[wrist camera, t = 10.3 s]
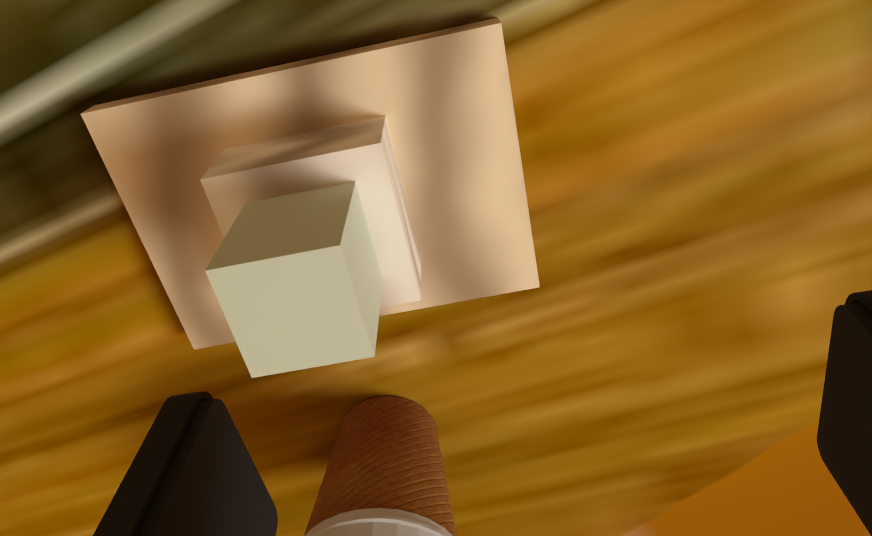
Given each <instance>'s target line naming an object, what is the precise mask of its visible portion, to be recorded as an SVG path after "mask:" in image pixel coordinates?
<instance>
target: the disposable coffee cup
mask: <svg viewBox="0 0 872 536" xmlns="http://www.w3.org/2000/svg"><path fill="white" fill-rule="evenodd" d="M436 435H437V431H436V425H435V423H434V420H433V418H432V417H431V415H430V414H429V413H428V412H427V411H426V410H425V409H424V408H423V407H422V406H420V405H419V404H417V403H415V402H413V401H410V400H408V399H405V398H400V397H395V396H382V397H375V398H370V399H368V400H365V401H363V402H361V403H359V404H357V405H356V406H354V407H353V408H352V409H351V410H350V411H349V412H348V413H347V414H346V416H345V418H344V419H343V422H342V425H341V428H340V431H339V434H338V437H337V440H336V443H335V446H334V449H333V452H332V455H331V458H330V461H329V464H328V467H327V470H326V473H325V476H324V479H323V482H322V485H321V487H320V490H319V493H318V496H317V499H316V502H315V505H314V508H313V511H312V514H311V517H310V520H309V523H308V525H307V528H306V531H305V535H304V536H457V533H456V528H455V524H454V523H453V522H454V518H453V514H451V513H452V508H451V505H450V504H451V503H450V498H449V496H448V495H449V492H448V488H447V482H446V480H445V479H446V477H445V472H444V467H443V464H442V463H443V462H442V457H441V452H440V450H439V449H440V446H439V443H438V442H439V441H438V436H436Z"/></svg>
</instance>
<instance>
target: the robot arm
mask: <svg viewBox="0 0 872 536" xmlns="http://www.w3.org/2000/svg"><path fill="white" fill-rule="evenodd" d="M817 443H818V449H819V452H820V455H821V457H822V460H823V461H824V463H825V465H826V466H827V468H828V470H829V471H830V473H831V474H832V476H833V477H834V479H835V480H836V482H837V483H838V485H839V487H840V488H841V490H842V491H843V493H844V494H845V496H846V497H847V499H848V501H849V502H850V504H851V505H852V507H853V508H854V510H855V511H856V513H857V515H858V516H859V518H860V519H861V521H862V522H863V524H864V525H865V527H866V528H867V530H868V531H869V533H870V535H871V536H872V290H870V291H863V292H857V293H853V294H850V295H849V296H848V298H847V299H846V302H845V305H840V306H837V308H836V309H835V312H834V317H833V324H832V331H831V339H830V346H829V353H828V361H827V368H826V375H825V382H824V390H823V397H822V404H821V412H820V419H819V426H818V433H817ZM277 522H278V519H277V511H276V507H275V505H274V503H273V501H272V499H271V497H270V495H269V493H268V491H267V489H266V487H265V485H264V483H263V481H262V479H261V477H260V475H259V473H258V471H257V469H256V467H255V465H254V463H253V461H252V459H251V457H250V455H249V453H248V451H247V449H246V447H245V445H244V443H243V441H242V439H241V437H240V435H239V433H238V431H237V429H236V427H235V425H234V423H233V421H232V419H231V417H230V415H229V413H228V411H227V409H226V407H225V405H224V403H223V402H222V401H221V400H220V399H213V397H212V396H211V394H209V393H208V392H196V393H190V394H183V395H177V396H171V397H170V398H168V399H167V400H166V401H165V403H164V404H163V406H162V408H161V410H160V412H159V414H158V415H157V417H156V419H155V421H154V423H153V425H152V427H151V428H150V430H149V432H148V434H147V436H146V438H145V440H144V441H143V443H142V445H141V447H140V449H139V451H138V453H137V455H136V456H135V458H134V460H133V462H132V464H131V466H130V468H129V469H128V471H127V473H126V475H125V477H124V479H123V481H122V482H121V484H120V486H119V488H118V490H117V492H116V494H115V495H114V497H113V499H112V501H111V503H110V505H109V507H108V508H107V510H106V512H105V514H104V516H103V518H102V520H101V522H100V523H99V525H98V527H97V529H96V531H95V533H94V535H93V536H275V535H276V530H277Z"/></svg>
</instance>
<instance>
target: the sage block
mask: <svg viewBox="0 0 872 536" xmlns="http://www.w3.org/2000/svg"><path fill="white" fill-rule="evenodd" d="M205 272H206V274H207V277H208V279H209V281H210V283H211V286H212V288H213V290H214V293H215V295H216V297H217V299H218V302H219V304H220V306H221V309H222V311H223V313H224V315H225V318H226V320H227V322H228V325H229V327H230V329H231V331H232V334H233V336H234V338H235V341H236V343H237V345H238V347H239V350H240V352H241V354H242V357H243V359H244V361H245V363H246V366H247V368H248V370H249V373H250V375H251V377H252V378H255V377H261V376H266V375H272V374H278V373H284V372H289V371H295V370H301V369H307V368H312V367H318V366H324V365H330V364H335V363H341V362H347V361H353V360H358V359H364V358H370V357H375V348H376V339H377V330H378V320H379V311H380V302H381V293H382V284H383V277H382V273H381V270H380V266H379V263H378V259H377V256H376V252H375V248H374V245H373V241H372V238H371V234H370V231H369V227H368V224H367V220H366V217H365V213H364V209H363V206H362V202H361V199H360V195H359V192H358V188H357V185H356V181H355V182H350V183H345V184H340V185H334V186H329V187H324V188H319V189H314V190H309V191H304V192H299V193H294V194H289V195H284V196H279V197H274V198H269V199H264V200H258V201H253V202H248V203H245V204H244V206H243V208H242V209H241V211H240V213H239V214H238V216H237V218H236V219H235V221H234V223H233V225H232V226H231V228H230V230H229V231H228V233H227V235H226V236H225V238H224V240H223V241H222V243H221V245H220V246H219V248H218V250H217V251H216V253H215V255H214V256H213V258H212V260H211V261H210V263H209V265H208V267H207V268H206V270H205Z"/></svg>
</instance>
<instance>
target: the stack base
mask: <svg viewBox="0 0 872 536" xmlns="http://www.w3.org/2000/svg"><path fill="white" fill-rule="evenodd" d="M81 116H82V118H83V120H84V122H85V124H86V127H87V129H88V131H89V133H90V135H91V137H92V139H93V141H94V143H95V145H96V147H97V149H98V151H99V154H100V156H101V158H102V160H103V162H104V164H105V166H106V168H107V170H108V172H109V174H110V176H111V178H112V180H113V183H114V185H115V187H116V189H117V191H118V193H119V195H120V197H121V199H122V201H123V203H124V205H125V207H126V209H127V212H128V214H129V216H130V218H131V220H132V222H133V224H134V226H135V228H136V230H137V232H138V234H139V236H140V239H141V241H142V243H143V245H144V247H145V249H146V251H147V253H148V255H149V257H150V259H151V261H152V263H153V265H154V268H155V270H156V272H157V274H158V276H159V278H160V280H161V282H162V284H163V286H164V288H165V290H166V292H167V294H168V297H169V299H170V301H171V303H172V305H173V307H174V309H175V311H176V313H177V315H178V317H179V319H180V321H181V324H182V326H183V328H184V330H185V332H186V334H187V336H188V338H189V340H190V342H191V344H192V346H193V348H194V349H199V348H205V347H211V346H216V345H222V344H227V343H233V342H236V341H235V338H234V336H233V334H232V331H231V329H230V327H229V325H228V322H227V320H226V318H225V315H224V313H223V311H222V309H221V306H220V304H219V302H218V299H217V297H216V295H215V293H214V290H213V288H212V286H211V283H210V281H209V279H208V277H207V274H206V272H205V270H206V268H207V267H208V265H209V263H210V261H211V260H212V258H213V256H214V255H215V253H216V251H217V250H218V248H219V246H220V245H221V243H222V241H223V240H224V238H225V236H226V235H227V233H228V231H229V230H230V228H231V226H232V225H233V223H234V221H235V219H236V218H237V216H238V214H239V213H240V211H241V209H242V208H243V206H244V204H245V203H248V202H253V201H258V200H264V199H269V198H274V197H279V196H284V195H289V194H294V193H299V192H304V191H309V190H314V189H319V188H324V187H329V186H334V185H340V184H345V183H350V182H355V181H356V185H357V188H358V192H359V195H360V199H361V202H362V206H363V209H364V213H365V217H366V220H367V224H368V227H369V231H370V234H371V238H372V241H373V245H374V248H375V252H376V256H377V259H378V263H379V266H380V270H381V273H382V277H383V284H382V293H381V302H380V311H379V316H382V315H388V314H393V313H399V312H405V311H410V310H416V309H421V308H427V307H432V306H438V305H443V304H449V303H454V302H460V301H466V300H471V299H477V298H482V297H488V296H493V295H499V294H504V293H510V292H515V291H521V290H527V289H532V288H538V287H539V280H538V273H537V266H536V259H535V252H534V245H533V239H532V232H531V225H530V218H529V211H528V204H527V197H526V191H525V184H524V177H523V170H522V163H521V156H520V149H519V142H518V136H517V129H516V122H515V115H514V108H513V101H512V94H511V88H510V81H509V74H508V67H507V60H506V53H505V46H504V40H503V33H502V26H501V22H500V21H499V19H498V18H494V19H490V20H485V21H480V22H476V23H471V24H467V25H462V26H457V27H453V28H448V29H444V30H439V31H434V32H430V33H425V34H421V35H416V36H411V37H407V38H402V39H398V40H393V41H388V42H384V43H379V44H374V45H370V46H365V47H361V48H356V49H351V50H347V51H342V52H338V53H333V54H328V55H324V56H319V57H315V58H310V59H305V60H301V61H296V62H292V63H287V64H282V65H278V66H273V67H269V68H264V69H259V70H255V71H250V72H246V73H241V74H236V75H232V76H227V77H222V78H218V79H213V80H209V81H204V82H199V83H195V84H190V85H186V86H181V87H176V88H172V89H167V90H163V91H158V92H153V93H149V94H144V95H140V96H135V97H130V98H126V99H121V100H117V101H112V102H107V103H103V104H98V105H94V106H93V107H91V108H89V109H88V110H86V111H84V112H83V113H81Z"/></svg>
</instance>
